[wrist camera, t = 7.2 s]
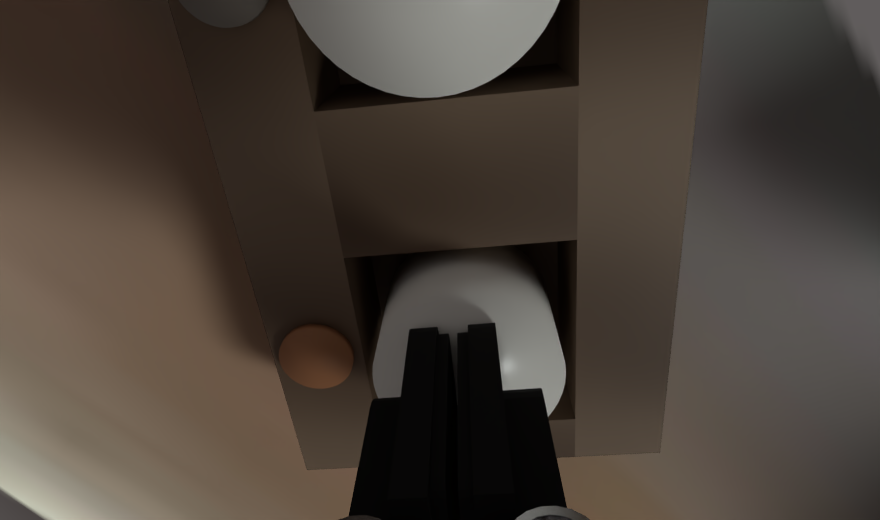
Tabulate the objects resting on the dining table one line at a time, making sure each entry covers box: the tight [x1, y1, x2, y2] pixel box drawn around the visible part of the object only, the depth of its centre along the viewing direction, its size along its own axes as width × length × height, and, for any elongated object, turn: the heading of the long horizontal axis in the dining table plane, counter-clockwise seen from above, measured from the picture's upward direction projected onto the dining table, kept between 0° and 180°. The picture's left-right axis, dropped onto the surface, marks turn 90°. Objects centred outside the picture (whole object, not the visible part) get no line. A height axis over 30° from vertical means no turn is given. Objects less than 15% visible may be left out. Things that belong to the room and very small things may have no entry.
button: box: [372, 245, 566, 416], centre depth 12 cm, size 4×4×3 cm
